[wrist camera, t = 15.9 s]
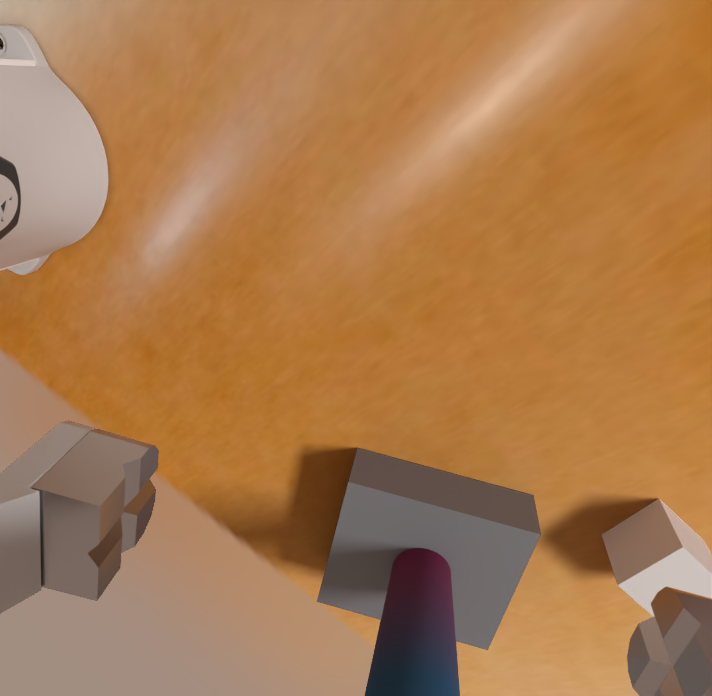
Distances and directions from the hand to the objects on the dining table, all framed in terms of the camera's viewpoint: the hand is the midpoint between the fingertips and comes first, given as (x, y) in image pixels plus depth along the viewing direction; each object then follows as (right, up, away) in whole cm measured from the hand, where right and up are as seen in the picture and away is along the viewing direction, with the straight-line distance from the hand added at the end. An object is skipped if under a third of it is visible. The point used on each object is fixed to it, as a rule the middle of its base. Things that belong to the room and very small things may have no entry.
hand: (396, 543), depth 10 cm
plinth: (+6, -14, +46) cm, 49 cm away
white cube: (+25, -13, +43) cm, 52 cm away
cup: (+5, -16, +42) cm, 45 cm away
